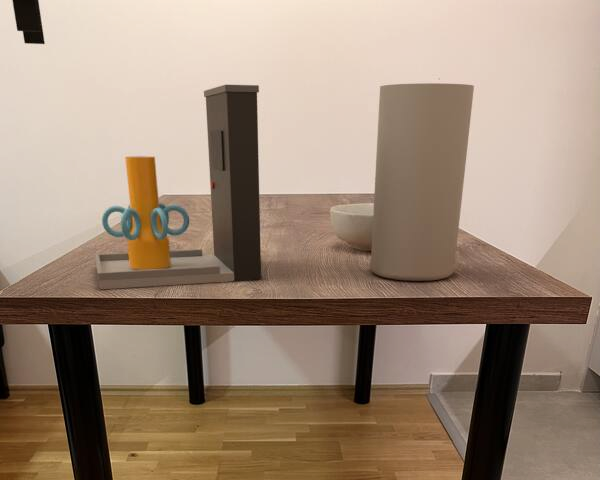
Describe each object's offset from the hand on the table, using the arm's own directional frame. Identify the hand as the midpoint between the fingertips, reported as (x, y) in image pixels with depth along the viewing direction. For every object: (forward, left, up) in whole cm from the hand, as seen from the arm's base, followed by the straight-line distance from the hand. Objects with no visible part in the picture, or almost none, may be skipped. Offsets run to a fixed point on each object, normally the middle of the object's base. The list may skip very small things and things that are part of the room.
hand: (32, 38), depth 86 cm
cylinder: (+12, -9, -30) cm, 33 cm away
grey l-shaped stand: (+16, -9, -31) cm, 36 cm away
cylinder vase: (+50, -19, -31) cm, 62 cm away
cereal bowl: (+54, +4, -31) cm, 62 cm away
